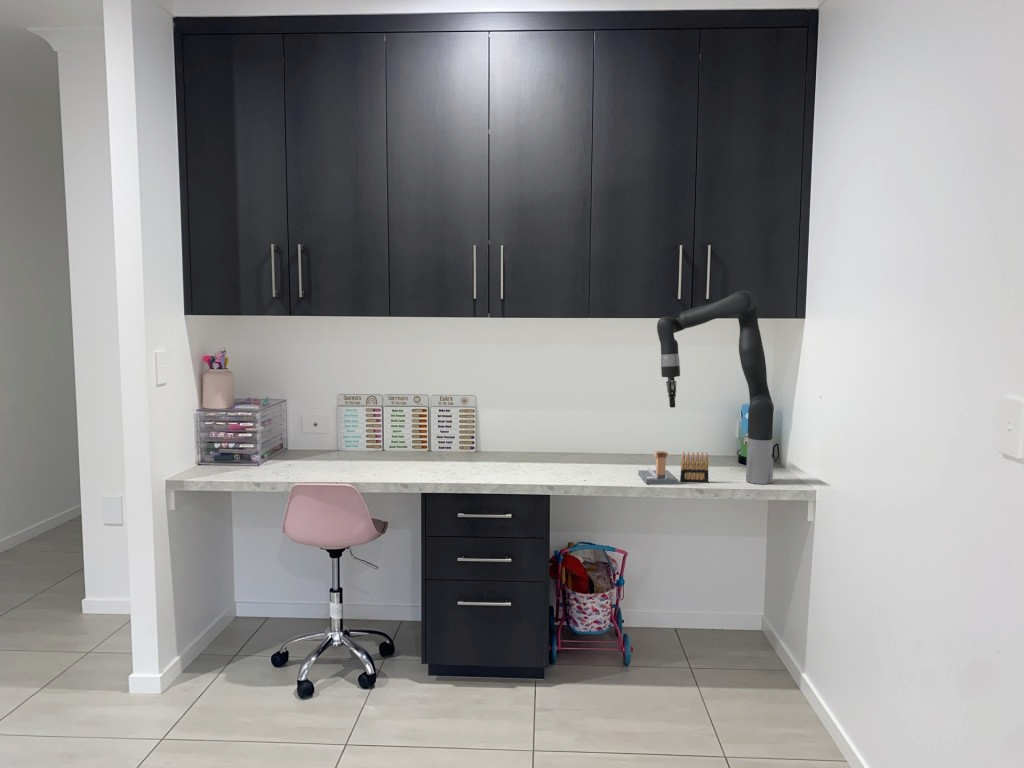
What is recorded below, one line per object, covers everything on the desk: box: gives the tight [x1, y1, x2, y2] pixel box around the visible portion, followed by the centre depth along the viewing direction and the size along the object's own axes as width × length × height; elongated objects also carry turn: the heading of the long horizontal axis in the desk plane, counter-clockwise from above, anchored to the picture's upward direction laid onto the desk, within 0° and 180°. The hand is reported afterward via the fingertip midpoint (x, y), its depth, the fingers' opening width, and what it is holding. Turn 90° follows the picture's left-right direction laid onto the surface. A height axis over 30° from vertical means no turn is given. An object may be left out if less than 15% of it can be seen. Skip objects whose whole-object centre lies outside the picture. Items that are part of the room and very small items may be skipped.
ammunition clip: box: [679, 451, 709, 484], centre depth 311 cm, size 11×2×12 cm, turn 86°
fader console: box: [638, 467, 679, 485], centre depth 315 cm, size 12×16×3 cm
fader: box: [654, 450, 669, 478], centre depth 309 cm, size 4×3×10 cm
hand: (672, 407), depth 327 cm, fingers closed
